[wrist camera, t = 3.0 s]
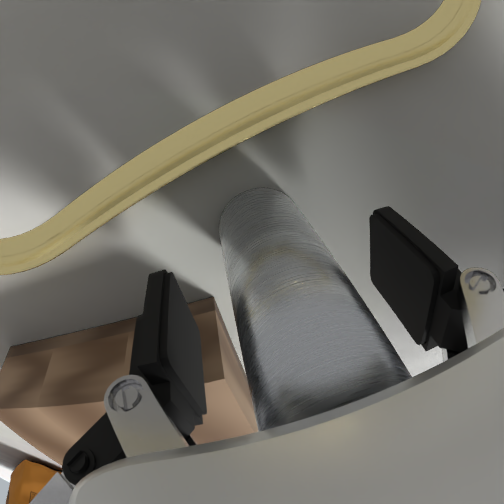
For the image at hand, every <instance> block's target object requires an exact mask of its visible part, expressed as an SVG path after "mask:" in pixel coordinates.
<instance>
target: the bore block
mask: <svg viewBox="0 0 504 504" xmlns="http://www.w3.org/2000/svg"><path fill="white" fill-rule="evenodd" d="M187 305H188V307H189V309H190V311H191V313H192V315H193V318H194V320H195V322H196V324H197V326H198V329H199V332H200V338H201V351H202V363H203V374H204V385H205V395H206V405H207V414H205V415H202V417H203V424H202V425H196V426H195V429H194V430H193V431H192V433H191V435H192V437H193V438H194V439H195V441H196V442H197V444H198V445H199V444H204V443H209V442H214V441H219V440H224V439H229V438H234V437H238V436H243V435H247V434H251V433H255V432H258V427H257V423H256V418H255V413H254V409H253V404H252V399H251V395H250V390H249V385H248V380H247V377H246V374H245V372H244V370H243V367H242V365H241V363H240V360H239V358H238V355H237V353H236V351H235V348H234V346H233V344H232V341H231V339H230V336H229V334H228V331H227V329H226V326H225V324H224V322H223V319H222V317H221V314H220V312H219V309H218V307H217V304H216V302H215V299H214V297H211V298H207V299H203V300H200V301H196V302H192V303H189V304H187ZM136 319H137V317H135V318H131V319H127V320H123V321H119V322H115V323H111V324H107V325H103V326H99V327H95V328H91V329H87V330H83V331H78V332H74V333H70V334H66V335H61V336H57V337H53V338H48V339H44V340H39V341H35V342H30V343H26V344H21V345H17V346H12V347H10V349H9V352H8V354H7V356H6V359H5V361H4V364H3V366H2V369H1V371H0V421H2V422H3V423H4V424H5V425H6V426H8V427H9V428H10V429H11V430H13V431H14V432H15V433H16V434H18V435H19V436H20V437H21V438H23V439H24V440H25V441H27V442H28V443H29V444H31V445H32V446H34V447H35V448H36V449H38V450H39V451H41V452H42V453H44V454H45V455H46V456H48V457H49V458H51V459H52V460H54V461H55V462H57V463H59V464H60V465H62V464H63V459H64V456H65V454H66V453H67V451H68V450H69V449H70V448H71V447H72V446H73V445H74V444H75V443H76V442H77V441H78V440H79V439H80V438H81V437H82V436H83V435H84V434H85V433H86V432H87V431H88V430H89V429H90V428H91V427H92V426H93V425H94V424H95V423H96V422H97V421H98V420H99V419H100V418H101V417H102V416H103V415H104V414H105V413H106V409H105V406H104V395H105V393H106V391H107V389H108V387H109V386H110V385H111V384H112V383H113V382H114V381H115V380H117V379H118V378H120V377H123V376H126V375H129V371H130V362H131V354H132V346H133V339H134V331H135V325H136Z"/></svg>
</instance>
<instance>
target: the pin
mask: <svg viewBox="0 0 504 504" xmlns="http://www.w3.org/2000/svg"><path fill="white" fill-rule="evenodd" d="M219 234H220V240H221V246H222V251H223V257H224V262H225V268H226V273H227V279H228V284H229V289H230V295H231V300H232V305H233V310H234V316H235V321H236V326H237V331H238V336H239V341H240V346H241V351H242V356H243V361H244V366H245V371H246V376H247V380H248V385H249V390H250V395H251V399H252V404H253V409H254V413H255V418H256V423H257V427H258V432H259V431H263V430H267V429H271V428H275V427H278V426H282V425H286V424H289V423H292V422H296V421H299V420H302V419H306V418H309V417H312V416H315V415H318V414H321V413H324V412H327V411H330V410H333V409H336V408H339V407H342V406H344V405H347V404H350V403H352V402H355V401H358V400H360V399H363V398H365V397H368V396H370V395H373V394H375V393H378V392H380V391H383V390H385V389H387V388H390V387H392V386H394V385H397V384H399V383H401V382H403V381H405V380H408V379H410V378H412V376H411V375H410V373H409V372H408V370H407V368H406V367H405V365H404V363H403V362H402V360H401V358H400V357H399V355H398V354H397V352H396V350H395V349H394V347H393V346H392V344H391V342H390V341H389V339H388V338H387V336H386V335H385V333H384V331H383V330H382V328H381V327H380V325H379V324H378V322H377V321H376V319H375V318H374V316H373V315H372V313H371V311H370V310H369V308H368V307H367V305H366V304H365V302H364V301H363V299H362V298H361V296H360V295H359V293H358V292H357V290H356V289H355V288H354V286H353V285H352V283H351V282H350V280H349V279H348V277H347V276H346V274H345V273H344V271H343V270H342V269H341V267H340V266H339V264H338V263H337V261H336V260H335V259H334V257H333V256H332V254H331V253H330V251H329V250H328V249H327V247H326V246H325V244H324V243H323V242H322V240H321V239H320V238H319V236H318V235H317V233H316V232H315V231H314V229H313V228H312V226H311V225H310V224H309V222H308V221H307V220H306V218H305V217H304V216H303V214H302V213H301V212H300V210H299V209H298V208H297V206H296V205H295V204H294V202H293V201H292V200H291V199H290V198H289V197H288V196H287V195H285V194H284V193H282V192H280V191H278V190H275V189H271V188H255V189H251V190H248V191H245V192H243V193H241V194H239V195H238V196H236V197H235V198H234V199H233V200H231V202H230V203H229V204H228V205H227V206H226V208H225V209H224V211H223V213H222V215H221V218H220V222H219Z"/></svg>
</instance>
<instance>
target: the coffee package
mask: <svg viewBox="0 0 504 504" xmlns="http://www.w3.org/2000/svg"><path fill="white" fill-rule="evenodd" d="M57 472H58V473H60V474H61V473H62V472H60V471H56V470H53V469H50V468H48V467H46V466H44V465H41V464H39V463H34V462H30V461H28V460H24V461H22V462H21V463H20V464H19V465H18V466H17V467H16V468H15V469H14V471H13V472H12V474H11V481H10V486H9V491H8V495H7V500H6V504H29V503H30V502H31V501H32V500H33V499H34V498H35V496H36V495H37V494H38V493H39V492H40V491H41V490H42V489H43V487H44V486H45V485H46V484H47V483H48V482H49V481H50V479H51V478H52V477H53V476H54V475H55V474H56V473H57Z"/></svg>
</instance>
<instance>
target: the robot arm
mask: <svg viewBox="0 0 504 504" xmlns="http://www.w3.org/2000/svg"><path fill="white" fill-rule="evenodd" d="M370 276H371V280H372V282H373V284H374V286H375V287H376V288H377V290H378V291H379V292H380V294H381V295H382V296H383V298H384V299H385V300H386V302H387V303H388V304H389V306H390V307H391V309H392V310H393V311H394V313H395V314H396V315H397V317H398V318H399V320H400V321H401V322H402V324H403V325H404V327H405V328H406V329H407V331H408V332H409V334H410V335H411V337H412V338H413V339H414V341H415V342H416V344H418V345H420V344H421V345H422V346H423V348H424V349H425V351H428V350H430V349H432V348H434V347H436V346H439V347H440V348H442V356H443V363H441V364H439V365H437V366H435V367H433V368H431V369H429V370H427V371H425V372H423V373H421V374H418V375H416V376H414V377H412V378H410V379H408V380H405V381H403V382H401V383H399V384H397V385H394V386H392V387H390V388H387V389H385V390H383V391H380V392H378V393H375V394H373V395H370V396H368V397H365V398H363V399H360V400H358V401H355V402H352V403H350V404H347V405H344V406H342V407H339V408H336V409H333V410H330V411H327V412H324V413H321V414H318V415H315V416H312V417H309V418H306V419H302V420H299V421H296V422H292V423H289V424H286V425H282V426H278V427H275V428H271V429H267V430H263V431H259V432H255V433H251V434H247V435H243V436H238V437H234V438H229V439H224V440H219V441H214V442H209V443H204V444H199V445H198V444H197V442H196V441H195V439H194V438H193V437H192V435H191V433H192V431H193V430H194V429H195V426H196V425H202V424H203V417H202V415H205V414H207V405H206V395H205V385H204V374H203V363H202V351H201V338H200V332H199V329H198V326H197V324H196V322H195V320H194V318H193V315H192V313H191V311H190V309H189V307H188V305H187V303H186V301H185V298H184V296H183V294H182V292H181V290H180V287H179V285H178V283H177V281H176V279H175V276H174V274H173V273H172V272H170V273H167V271H166V270H161V271H158V272H155V273H151V274H149V278H148V284H147V291H146V297H145V304H144V311H143V315H140V316H138V317H137V319H136V325H135V331H134V339H133V346H132V354H131V362H130V371H129V375H126V376H123V377H120V378H118V379H117V380H115V381H114V382H113V383H112V384H111V385H110V386H109V387H108V389H107V391H106V393H105V395H104V406H105V409H106V413H105V414H104V415H103V416H102V417H101V418H100V419H99V420H98V421H97V422H96V423H95V424H94V425H93V426H92V427H91V428H90V429H89V430H88V431H87V432H86V433H85V434H84V435H83V436H82V437H81V438H80V439H79V440H78V441H77V442H76V443H75V444H74V445H73V446H72V447H71V448H70V449H69V450H68V451H67V453H66V454H65V456H64V459H63V464H62V469H63V472H62V473H61V474H60V473H58V472H57V473H56V474H55V475H54V476H53V477H52V478H51V479H50V481H49V482H48V483H47V484H46V485H45V486H44V487H43V489H42V490H41V491H40V492H39V493H38V494H37V495H36V496H35V498H34V499H33V500H32V501H31V502H30V503H29V504H504V289H502V286H501V284H500V281H499V280H498V278H497V276H496V275H494V274H493V273H492V272H490V271H489V270H487V269H484V268H478V267H473V268H469V269H466V270H465V271H464V272H463V273H462V272H461V271H460V270H459V269H458V265H457V264H456V263H455V262H454V261H453V260H451V259H450V258H449V257H448V256H447V255H446V254H445V253H444V252H443V251H442V250H440V249H439V248H438V247H437V246H436V245H435V244H434V243H433V242H431V241H430V240H429V239H428V238H427V237H426V236H425V235H423V234H422V233H421V232H420V231H419V230H418V229H416V228H415V227H414V226H413V225H412V224H410V223H409V222H408V221H407V220H406V219H404V218H403V217H402V216H401V215H399V214H398V213H397V212H396V211H394V210H393V209H392V208H391V207H389V206H388V207H384V208H380V209H377V210H374V212H373V215H371V216H370Z"/></svg>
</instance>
